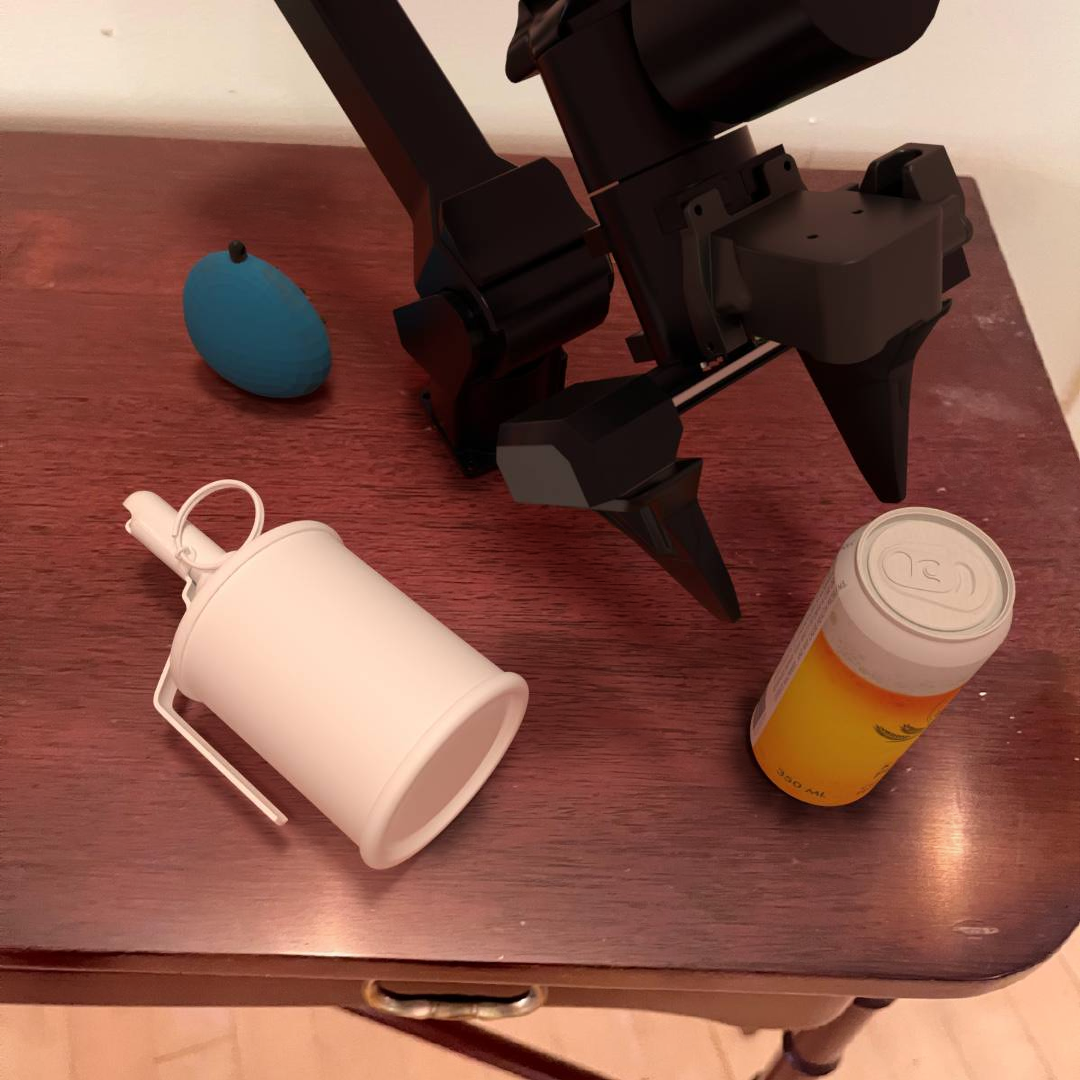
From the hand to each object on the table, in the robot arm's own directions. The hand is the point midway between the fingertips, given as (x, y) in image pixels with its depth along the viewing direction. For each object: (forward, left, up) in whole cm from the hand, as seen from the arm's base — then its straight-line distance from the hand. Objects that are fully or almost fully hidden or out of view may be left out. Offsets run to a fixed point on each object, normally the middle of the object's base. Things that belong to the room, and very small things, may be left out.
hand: (815, 558), depth 39 cm
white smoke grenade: (-16, 0, -6) cm, 17 cm away
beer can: (+1, -4, -11) cm, 12 cm away
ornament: (-13, +28, -11) cm, 33 cm away
